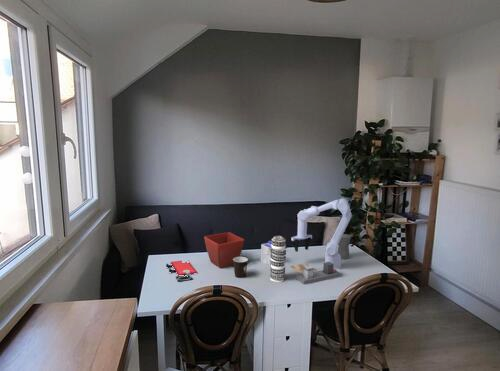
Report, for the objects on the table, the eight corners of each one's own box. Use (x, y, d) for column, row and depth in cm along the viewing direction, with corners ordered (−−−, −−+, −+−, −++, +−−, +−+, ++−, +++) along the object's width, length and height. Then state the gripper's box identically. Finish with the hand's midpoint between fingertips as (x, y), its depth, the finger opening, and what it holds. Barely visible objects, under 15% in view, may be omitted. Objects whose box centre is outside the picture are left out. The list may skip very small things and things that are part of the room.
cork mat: (305, 264, 219) (305, 263, 219) (317, 271, 208) (317, 270, 208) (289, 267, 213) (289, 266, 213) (300, 274, 203) (300, 273, 203)
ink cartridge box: (277, 264, 217) (277, 242, 215) (270, 266, 214) (271, 244, 212) (266, 260, 225) (267, 239, 223) (260, 262, 221) (260, 240, 219)
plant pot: (244, 264, 216) (245, 239, 214) (218, 271, 206) (218, 244, 203) (229, 255, 232) (229, 231, 229) (203, 261, 221) (203, 236, 218)
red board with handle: (174, 283, 189) (200, 279, 195) (174, 278, 189) (200, 274, 195) (164, 264, 216) (187, 261, 222) (164, 260, 216) (187, 257, 222)
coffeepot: (335, 259, 227) (337, 233, 225) (331, 254, 237) (332, 229, 234) (358, 259, 229) (359, 233, 226) (353, 254, 238) (354, 229, 235)
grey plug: (308, 278, 197) (309, 265, 196) (313, 281, 194) (313, 267, 193) (302, 279, 196) (303, 266, 194) (307, 282, 192) (307, 268, 191)
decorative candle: (273, 274, 202) (274, 233, 198) (288, 278, 197) (289, 236, 194) (266, 280, 194) (267, 237, 190) (281, 283, 190) (282, 240, 186)
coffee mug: (236, 279, 194) (237, 263, 192) (230, 274, 202) (230, 258, 200) (254, 276, 199) (255, 259, 198) (248, 270, 207) (248, 255, 205)
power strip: (331, 272, 207) (331, 266, 206) (340, 277, 200) (340, 271, 199) (295, 279, 195) (295, 274, 195) (303, 285, 188) (303, 279, 188)
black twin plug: (328, 274, 203) (329, 261, 202) (332, 277, 200) (333, 264, 198) (323, 275, 201) (323, 262, 200) (327, 278, 198) (328, 265, 197)
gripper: (307, 226, 221) (307, 246, 224) (289, 229, 215) (288, 249, 217) (314, 229, 215) (313, 250, 217) (295, 232, 209) (294, 253, 211)
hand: (301, 250), depth 217 cm, fingers open, 7 cm apart
